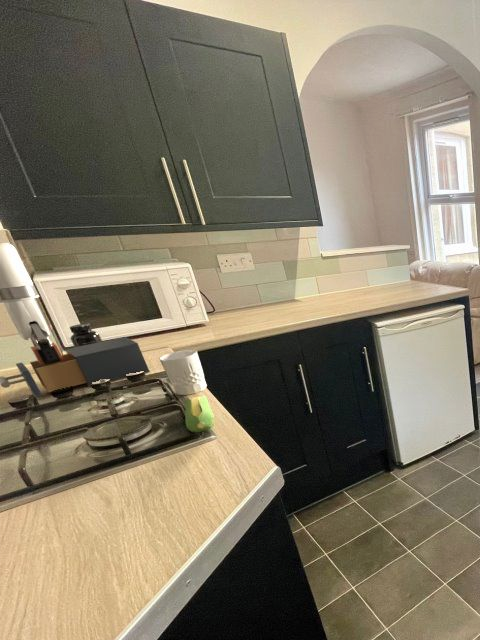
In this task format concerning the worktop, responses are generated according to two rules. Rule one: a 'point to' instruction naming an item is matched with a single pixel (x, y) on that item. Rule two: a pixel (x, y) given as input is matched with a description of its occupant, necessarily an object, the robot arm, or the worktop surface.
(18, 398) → the worktop surface
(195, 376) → the white cup
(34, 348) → the block
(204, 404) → the edible corn
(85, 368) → the cabinet
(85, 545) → the worktop surface
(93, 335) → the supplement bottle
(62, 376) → the drawer
